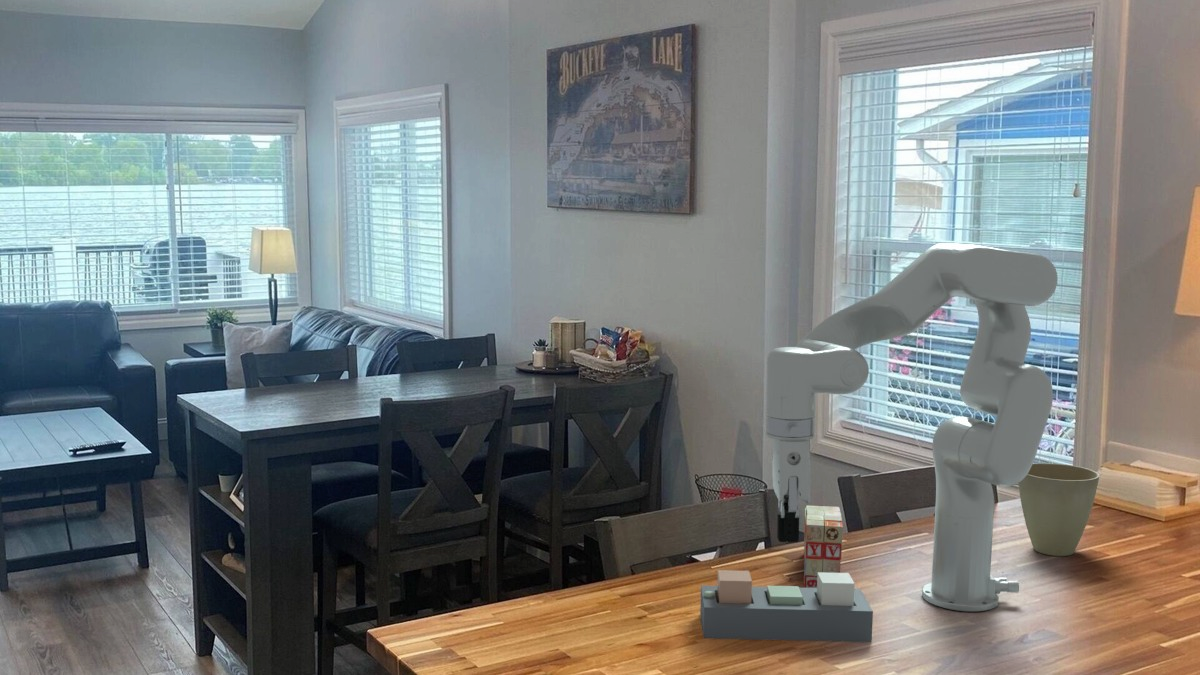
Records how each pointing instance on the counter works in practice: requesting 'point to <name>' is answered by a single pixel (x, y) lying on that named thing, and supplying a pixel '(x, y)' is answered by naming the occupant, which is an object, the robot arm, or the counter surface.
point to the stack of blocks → (821, 542)
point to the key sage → (784, 595)
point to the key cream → (835, 589)
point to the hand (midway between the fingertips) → (787, 540)
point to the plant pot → (1057, 505)
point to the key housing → (785, 618)
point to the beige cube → (734, 587)
